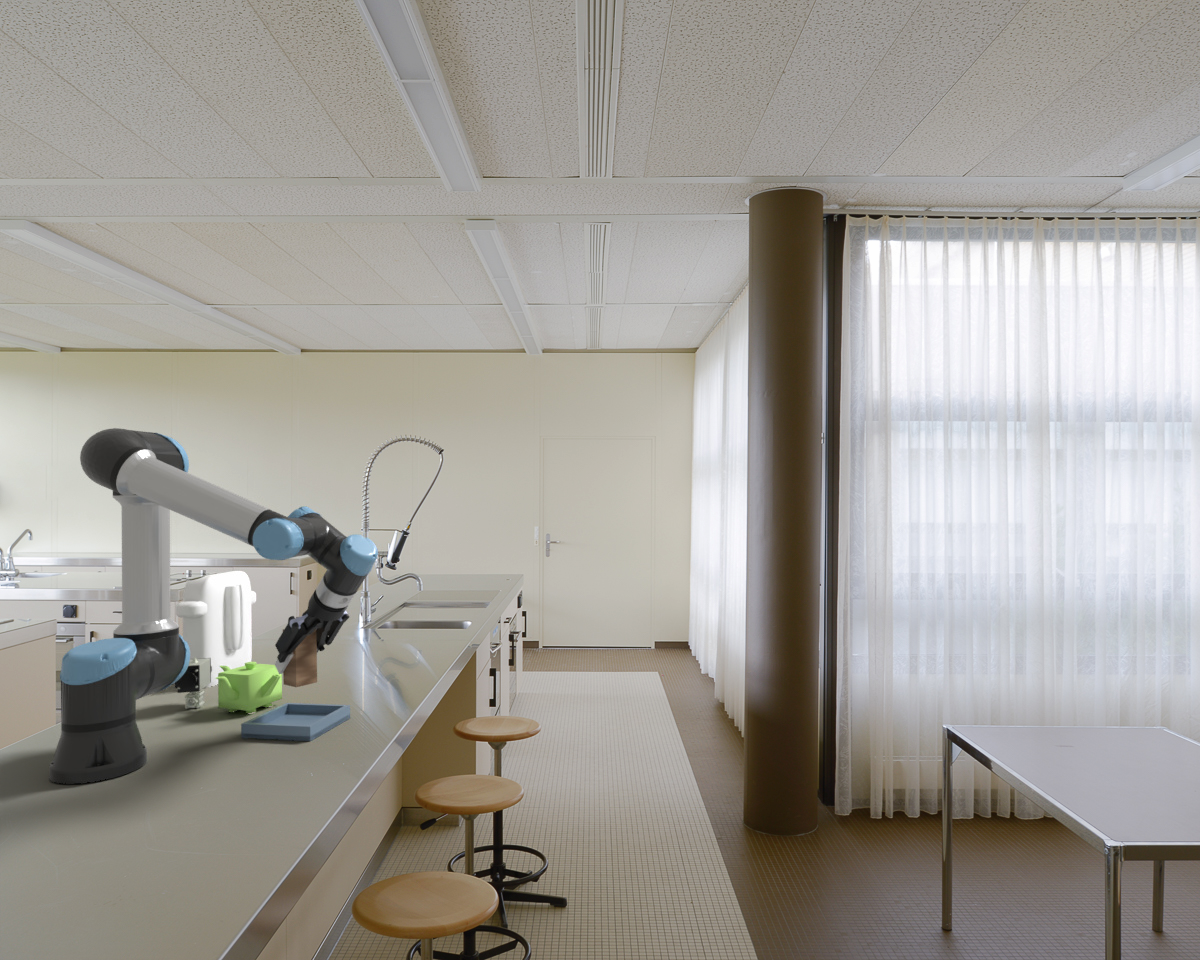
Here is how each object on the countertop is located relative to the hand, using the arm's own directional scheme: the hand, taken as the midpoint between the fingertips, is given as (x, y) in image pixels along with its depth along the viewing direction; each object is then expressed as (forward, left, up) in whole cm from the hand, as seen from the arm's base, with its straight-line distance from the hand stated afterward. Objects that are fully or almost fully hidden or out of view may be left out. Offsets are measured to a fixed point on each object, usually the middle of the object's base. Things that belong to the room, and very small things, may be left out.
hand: (290, 666), depth 164 cm
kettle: (+10, +18, -13) cm, 25 cm away
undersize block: (-2, -3, -3) cm, 5 cm away
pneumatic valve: (+10, +33, -13) cm, 37 cm away
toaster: (+36, +45, -13) cm, 59 cm away
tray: (-2, -3, -13) cm, 13 cm away
